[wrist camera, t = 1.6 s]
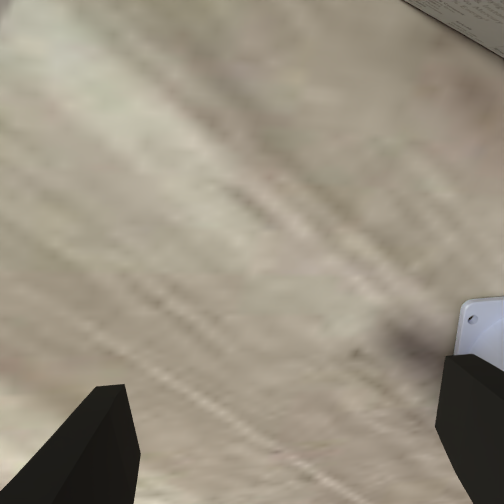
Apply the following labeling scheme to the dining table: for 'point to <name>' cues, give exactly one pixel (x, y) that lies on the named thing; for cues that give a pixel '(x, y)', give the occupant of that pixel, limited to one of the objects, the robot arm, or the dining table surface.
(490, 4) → the light bulb box
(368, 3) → the dining table surface
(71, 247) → the dining table surface
